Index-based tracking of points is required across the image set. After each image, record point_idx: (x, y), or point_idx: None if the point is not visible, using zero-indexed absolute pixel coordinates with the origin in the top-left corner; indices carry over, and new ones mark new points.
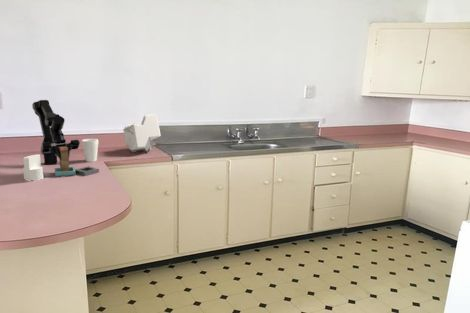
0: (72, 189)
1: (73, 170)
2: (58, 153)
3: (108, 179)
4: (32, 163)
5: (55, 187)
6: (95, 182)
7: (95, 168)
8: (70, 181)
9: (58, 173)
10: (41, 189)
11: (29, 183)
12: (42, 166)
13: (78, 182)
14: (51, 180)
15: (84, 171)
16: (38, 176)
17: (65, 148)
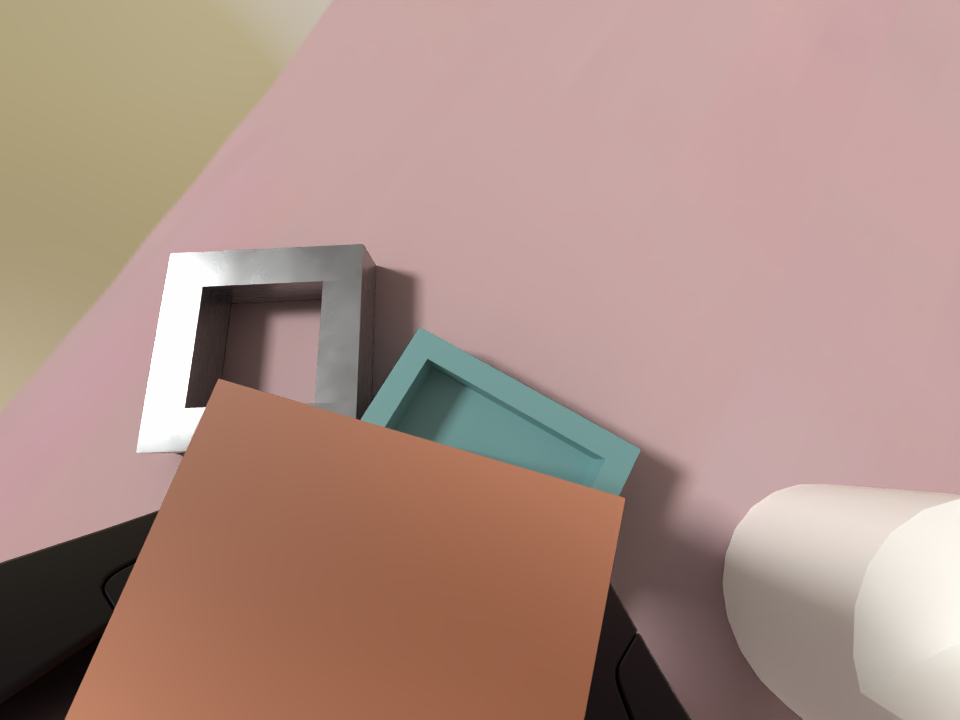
0: (692, 17)
1: (417, 369)
2: (609, 590)
3: (334, 41)
4: None
5: (774, 142)
6: (458, 44)
7: (175, 297)
8: (586, 204)
9: (597, 428)
10: (896, 173)
11: (939, 439)
12: (855, 610)
13: (553, 132)
14: (706, 368)
15: (345, 274)
16: (854, 486)
17: (355, 423)
